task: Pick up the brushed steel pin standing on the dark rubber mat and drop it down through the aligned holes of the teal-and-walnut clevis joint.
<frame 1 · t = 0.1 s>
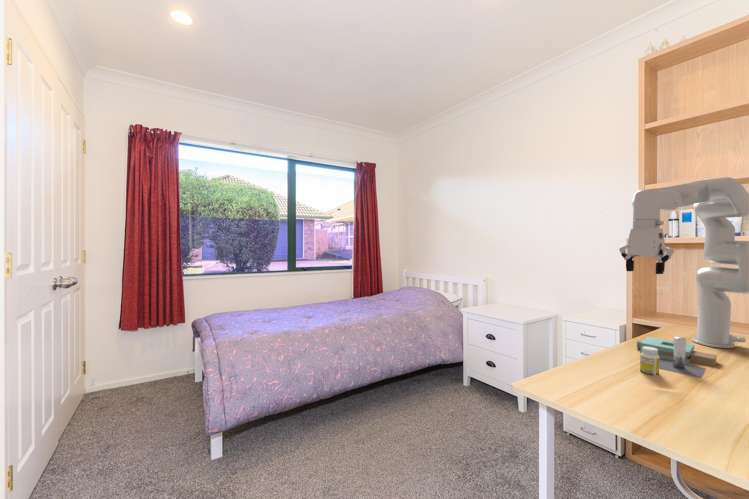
hand: (644, 272, 123), 31 cm above the table, tool pointing down, fingers open, 9 cm apart
supplement bottle: (649, 374, 110), on the table
rubber mat: (678, 369, 114), on the table
steel pin: (678, 367, 114), point 1 cm above the table, touching rubber mat
clevis joint: (669, 356, 126), on the table
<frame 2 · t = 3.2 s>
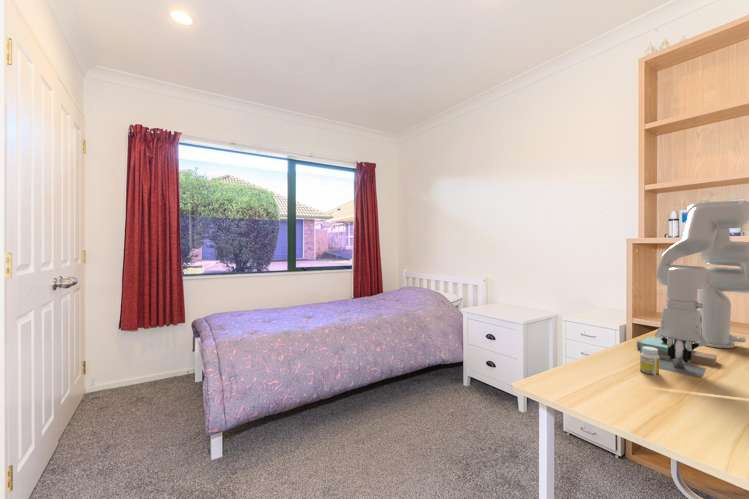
hand: (679, 359, 114), 3 cm above the table, tool pointing down, fingers closed on steel pin, 3 cm apart
steel pin: (678, 367, 114), point 1 cm above the table, touching gripper, rubber mat
everything else where it was.
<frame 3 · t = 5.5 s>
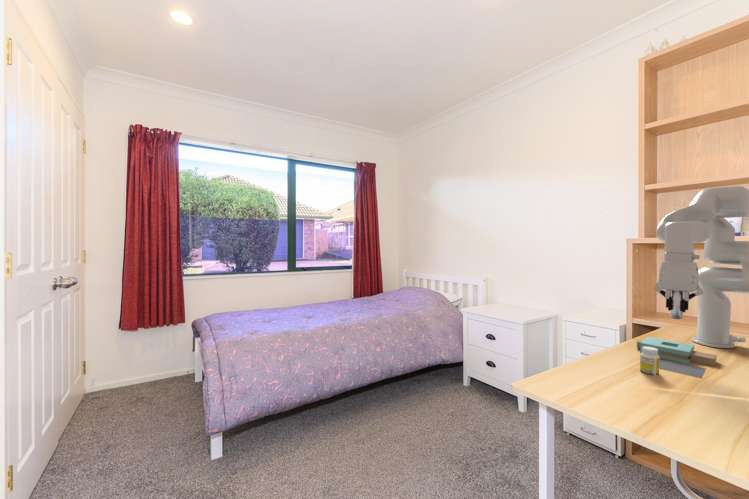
hand: (676, 310, 118), 19 cm above the table, tool pointing down, fingers closed on steel pin, 3 cm apart
steel pin: (676, 318, 119), point 16 cm above the table, touching gripper
everything else where it was.
when the fingers open (5 cm above the table, at t = 8.2 s): steel pin drops 3 cm, resting in clevis joint.
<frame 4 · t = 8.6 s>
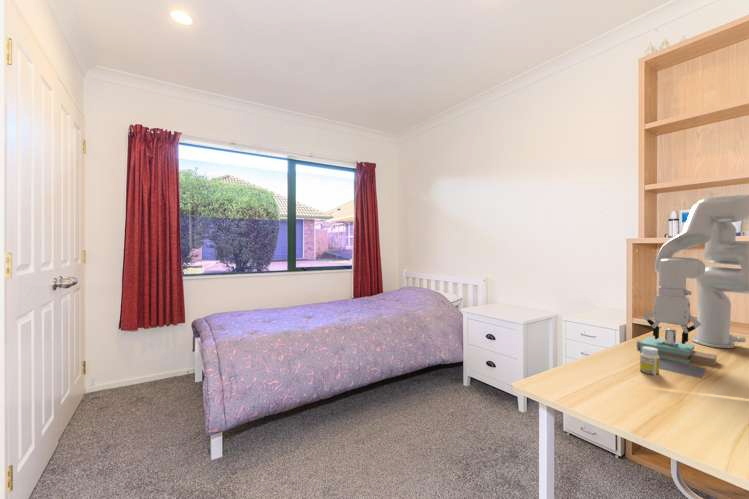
hand: (669, 340, 126), 6 cm above the table, tool pointing down, fingers open, 7 cm apart
steel pin: (669, 356, 126), resting in clevis joint
everything else where it was.
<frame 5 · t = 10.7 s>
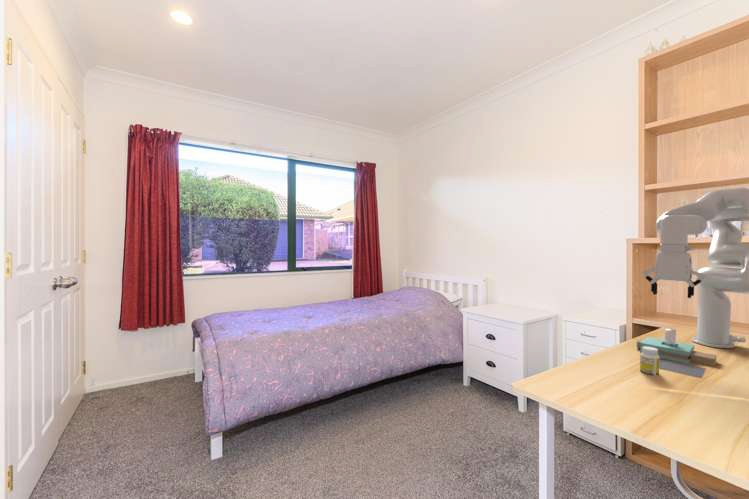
hand: (671, 295, 126), 22 cm above the table, tool pointing down, fingers open, 9 cm apart
nothing on the table moved.
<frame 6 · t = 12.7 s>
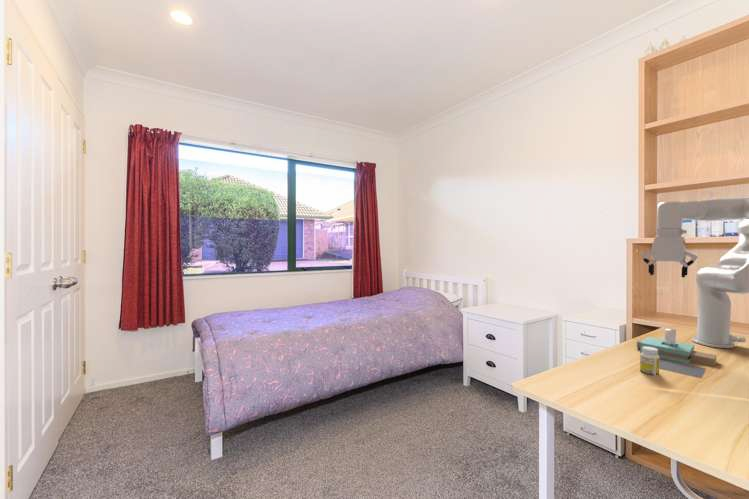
hand: (667, 275, 137), 28 cm above the table, tool pointing down, fingers open, 9 cm apart
nothing on the table moved.
at the end: steel pin 0.0 cm off-centre on the clevis joint, point 0.0 cm above the clevis joint's base; steel pin tilted 0°; the gripper is holding nothing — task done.
